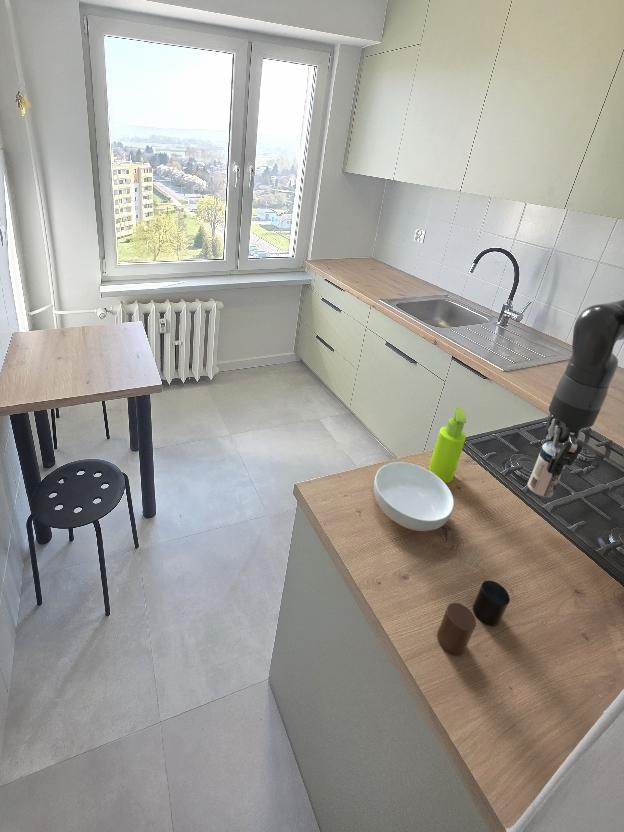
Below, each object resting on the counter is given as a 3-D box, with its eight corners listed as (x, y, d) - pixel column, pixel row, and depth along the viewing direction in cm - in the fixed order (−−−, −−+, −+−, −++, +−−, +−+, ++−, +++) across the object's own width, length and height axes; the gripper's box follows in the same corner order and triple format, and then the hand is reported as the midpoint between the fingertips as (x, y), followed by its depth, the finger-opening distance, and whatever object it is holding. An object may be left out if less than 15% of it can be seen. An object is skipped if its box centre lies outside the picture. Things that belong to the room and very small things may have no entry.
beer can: (551, 502, 89) (571, 458, 84) (525, 491, 92) (543, 448, 87) (552, 489, 93) (571, 446, 88) (527, 479, 95) (544, 436, 91)
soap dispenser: (429, 481, 105) (448, 417, 97) (427, 463, 112) (445, 401, 103) (454, 488, 104) (476, 423, 96) (451, 469, 110) (471, 406, 102)
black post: (498, 607, 77) (508, 586, 75) (501, 631, 74) (511, 609, 71) (472, 597, 79) (480, 576, 76) (473, 619, 75) (482, 598, 73)
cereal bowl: (356, 491, 101) (360, 469, 99) (411, 477, 107) (417, 455, 104) (402, 552, 87) (409, 528, 84) (463, 532, 92) (472, 508, 89)
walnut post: (464, 634, 73) (475, 609, 70) (465, 661, 69) (476, 635, 66) (437, 623, 74) (446, 598, 72) (436, 648, 71) (446, 622, 68)
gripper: (613, 423, 75) (580, 494, 82) (590, 385, 87) (563, 449, 94) (564, 411, 78) (535, 481, 85) (548, 376, 90) (524, 439, 97)
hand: (550, 464), depth 89 cm, fingers closed on beer can, 4 cm apart
